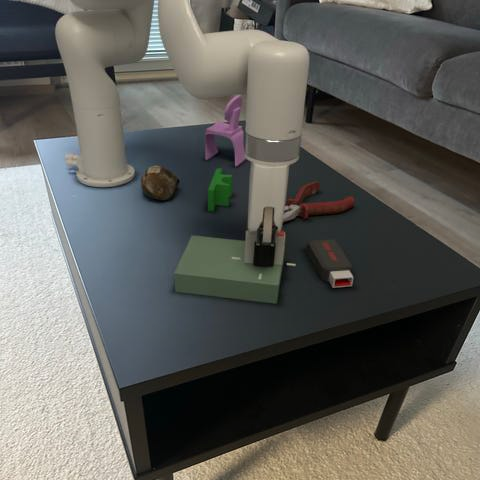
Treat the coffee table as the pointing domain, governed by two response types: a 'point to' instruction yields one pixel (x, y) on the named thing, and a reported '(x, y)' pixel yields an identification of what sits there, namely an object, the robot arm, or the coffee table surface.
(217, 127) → the toy chair
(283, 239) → the square jaw plate
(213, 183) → the pipe clamp
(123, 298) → the coffee table surface
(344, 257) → the usb drive
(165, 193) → the brown rock
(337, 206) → the pliers
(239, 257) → the green rectangular block
